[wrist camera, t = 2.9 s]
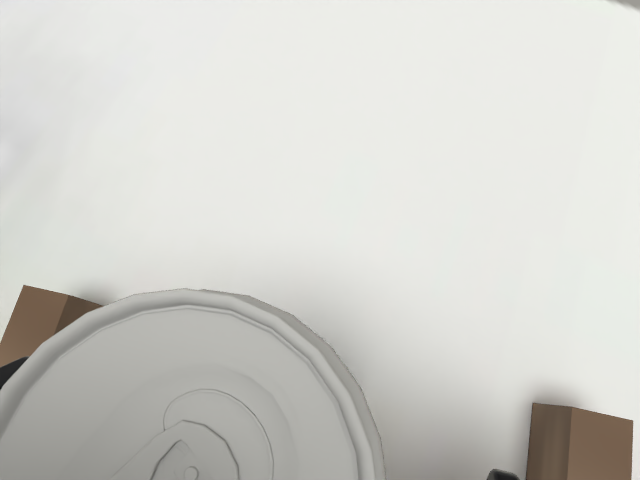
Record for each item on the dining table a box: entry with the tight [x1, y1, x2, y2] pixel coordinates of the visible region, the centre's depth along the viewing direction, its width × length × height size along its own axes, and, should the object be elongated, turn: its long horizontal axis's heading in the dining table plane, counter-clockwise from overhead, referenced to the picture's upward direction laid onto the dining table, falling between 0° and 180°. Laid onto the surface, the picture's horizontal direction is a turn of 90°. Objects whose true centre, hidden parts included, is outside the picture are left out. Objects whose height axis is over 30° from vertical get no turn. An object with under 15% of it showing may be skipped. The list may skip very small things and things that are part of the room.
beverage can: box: [0, 288, 386, 480], centre depth 11 cm, size 5×5×12 cm
